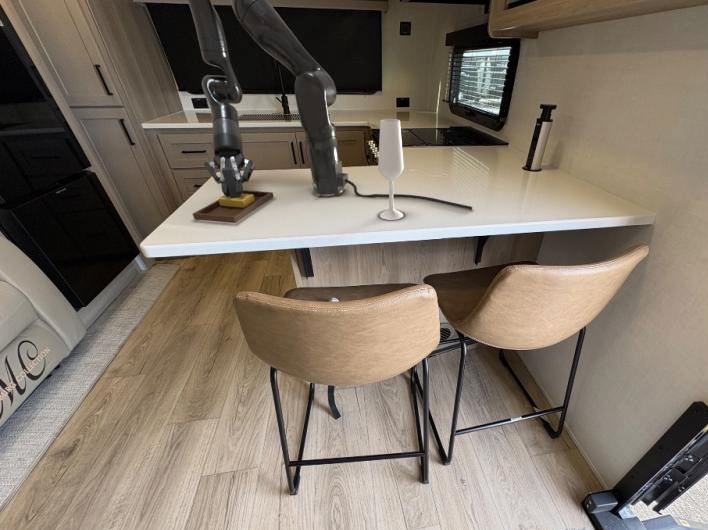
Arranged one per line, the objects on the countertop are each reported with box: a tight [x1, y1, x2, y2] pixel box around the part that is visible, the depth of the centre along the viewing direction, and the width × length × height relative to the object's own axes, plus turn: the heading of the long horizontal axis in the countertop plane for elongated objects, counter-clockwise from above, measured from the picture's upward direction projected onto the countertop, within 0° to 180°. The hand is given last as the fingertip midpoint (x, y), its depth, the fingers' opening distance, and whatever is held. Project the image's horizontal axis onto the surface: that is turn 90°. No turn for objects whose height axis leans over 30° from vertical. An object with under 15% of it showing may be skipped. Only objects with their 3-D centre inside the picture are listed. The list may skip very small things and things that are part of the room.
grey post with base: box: [217, 167, 255, 209], centre depth 95 cm, size 8×6×11 cm
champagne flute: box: [377, 118, 404, 221], centre depth 87 cm, size 7×7×24 cm
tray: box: [192, 189, 275, 224], centre depth 97 cm, size 13×21×2 cm, turn 168°
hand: (233, 194), depth 94 cm, fingers closed on grey post with base, 2 cm apart
